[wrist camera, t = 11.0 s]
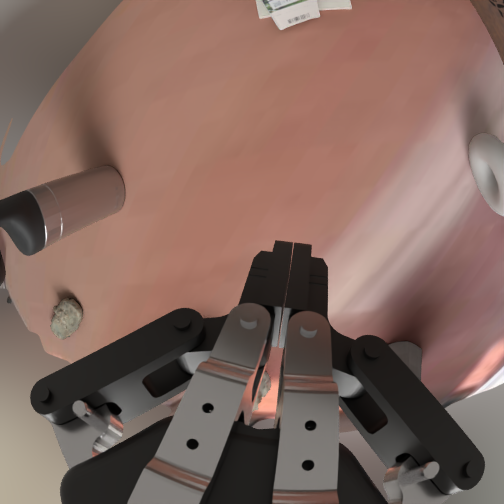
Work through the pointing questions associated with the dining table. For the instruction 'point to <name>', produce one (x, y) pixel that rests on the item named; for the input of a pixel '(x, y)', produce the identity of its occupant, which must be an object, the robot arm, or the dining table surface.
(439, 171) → the dining table surface
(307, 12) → the syrup box
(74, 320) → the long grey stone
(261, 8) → the mat
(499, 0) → the tissue box cover
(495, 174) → the donut
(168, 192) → the dining table surface
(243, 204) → the dining table surface
